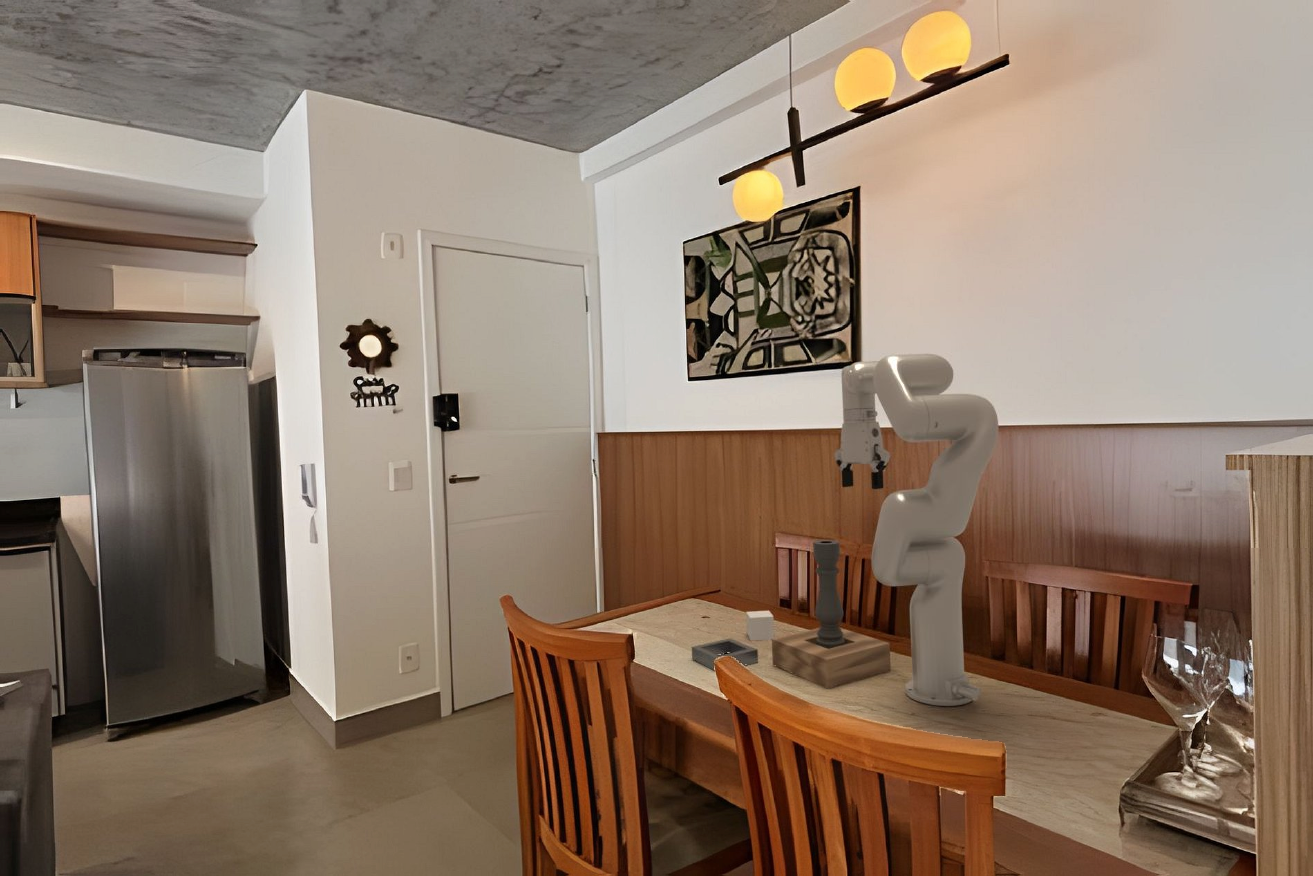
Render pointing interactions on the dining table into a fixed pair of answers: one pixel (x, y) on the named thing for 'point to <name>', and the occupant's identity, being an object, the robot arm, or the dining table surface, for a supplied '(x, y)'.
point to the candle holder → (828, 594)
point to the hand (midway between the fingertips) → (862, 487)
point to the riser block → (831, 657)
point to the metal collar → (711, 650)
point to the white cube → (760, 625)
